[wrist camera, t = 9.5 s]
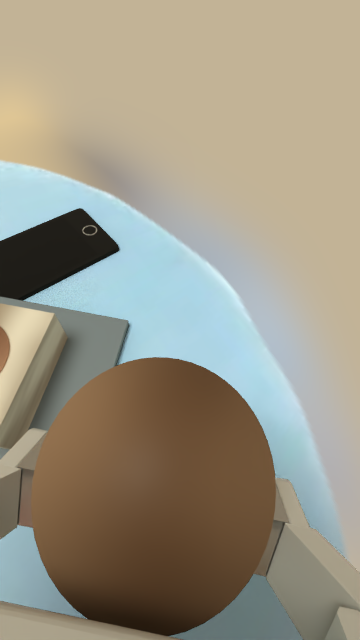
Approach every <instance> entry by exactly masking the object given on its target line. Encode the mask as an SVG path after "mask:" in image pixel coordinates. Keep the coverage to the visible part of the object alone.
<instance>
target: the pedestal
mask: <svg viewBox="0 0 360 640" xmlns="http://www.w3.org/2000/svg"><path fill="white" fill-rule="evenodd" d="M67 338H68V337H67V335H66V333H65V331H64V330H63V328H62V326H61V324H60V322H59V321H58V319H57V317H56V315H55V313H49V312H44V311H39V310H33V309H28V308H23V307H17V306H12V305H7V304H1V303H0V448H4V449H9V450H10V449H11V448H12V447H13V446H14V445H15V444H16V443H17V442H18V441H19V440H20V439H21V438H22V437H23V436H24V434H25V433H26V432H27V431H28V429H29V427H30V424H31V422H32V420H33V417H34V415H35V413H36V410H37V408H38V406H39V403H40V401H41V399H42V396H43V394H44V392H45V389H46V387H47V385H48V382H49V380H50V378H51V375H52V373H53V371H54V368H55V366H56V364H57V362H58V359H59V357H60V355H61V352H62V350H63V348H64V345H65V343H66V341H67Z"/></svg>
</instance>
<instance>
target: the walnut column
mask: <svg viewBox="0 0 360 640" xmlns="http://www.w3.org/2000/svg"><path fill="white" fill-rule="evenodd" d="M275 501H276V483H275V471H274V465H273V459H272V455H271V451H270V448H269V445H268V441H267V439H266V436H265V434H264V431H263V429H262V427H261V425H260V423H259V421H258V419H257V417H256V416H255V414H254V412H253V411H252V409H251V408H250V406H249V405H248V404H247V402H246V401H245V400H244V399H243V398H242V396H241V395H240V394H239V393H238V392H237V391H236V390H235V389H234V388H233V387H232V386H231V385H230V384H228V383H227V382H226V381H225V380H223V379H222V378H221V377H219V376H218V375H216V374H215V373H213V372H211V371H209V370H207V369H206V368H204V367H201V366H199V365H196V364H194V363H191V362H187V361H183V360H180V359H173V358H157V357H153V358H144V359H138V360H133V361H129V362H126V363H123V364H120V365H117V366H115V367H113V368H111V369H109V370H107V371H105V372H103V373H101V374H99V375H98V376H96V377H95V378H93V379H92V380H90V381H89V382H88V383H87V384H85V385H84V386H83V387H82V388H81V389H79V390H78V391H77V392H76V393H75V394H74V395H73V397H72V398H71V399H70V400H69V401H68V402H67V403H66V404H65V406H64V407H63V408H62V410H61V411H60V412H59V414H58V415H57V417H56V418H55V420H54V422H53V423H52V425H51V427H50V428H49V431H48V433H47V435H46V437H45V439H44V441H43V443H42V446H41V449H40V452H39V455H38V458H37V461H36V466H35V471H34V476H33V482H32V493H31V515H32V524H33V530H34V537H35V540H36V544H37V547H38V551H39V554H40V557H41V560H42V562H43V564H44V566H45V568H46V570H47V573H48V575H49V577H50V578H51V580H52V581H53V583H54V584H55V586H56V587H57V589H58V590H59V592H60V593H61V594H62V596H63V597H64V598H65V599H66V600H67V601H68V602H69V603H70V604H71V605H72V607H73V608H74V609H76V610H77V611H78V612H80V613H81V614H82V615H83V616H85V617H86V618H87V619H88V620H93V621H98V622H102V623H107V624H112V625H116V626H121V627H126V628H131V629H135V630H140V631H145V632H149V633H154V634H159V635H163V636H171V635H175V634H178V633H182V632H186V631H188V630H190V629H192V628H195V627H197V626H199V625H201V624H203V623H205V622H206V621H208V620H209V619H211V618H212V617H214V616H215V615H217V614H218V613H220V612H221V611H222V610H223V609H224V608H225V607H227V606H228V605H229V604H230V603H231V602H232V601H233V600H234V599H235V598H236V597H237V596H238V594H239V593H240V592H241V591H242V589H243V588H244V587H245V586H246V584H247V583H248V582H249V580H250V578H251V577H252V575H253V573H254V572H255V570H256V568H257V567H258V565H259V563H260V561H261V558H262V556H263V554H264V551H265V549H266V547H267V543H268V540H269V536H270V533H271V530H272V525H273V519H274V513H275Z"/></svg>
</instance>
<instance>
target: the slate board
mask: <svg viewBox="0 0 360 640" xmlns="http://www.w3.org/2000/svg"><path fill="white" fill-rule="evenodd" d="M0 303H1V304H7V305H12V306H17V307H23V308H28V309H33V310H39V311H44V312H49V313H55V315H56V317H57V319H58V321H59V322H60V324H61V326H62V328H63V330H64V331H65V333H66V335H67V337H68V338H67V341H66V343H65V345H64V348H63V350H62V352H61V355H60V357H59V359H58V362H57V364H56V366H55V368H54V371H53V373H52V375H51V378H50V380H49V382H48V385H47V387H46V389H45V392H44V394H43V396H42V399H41V401H40V403H39V406H38V408H37V410H36V413H35V415H34V417H33V420H32V422H31V424H30V427H29V429H28V430H30V429H32V428H36V429H41V430H45V431H49V428H50V427H51V425H52V423H53V422H54V420H55V418H56V417H57V415H58V414H59V412H60V411H61V410H62V408H63V407H64V406H65V404H66V403H67V402H68V401H69V400H70V399H71V398H72V397H73V395H74V394H75V393H76V392H77V391H78V390H79V389H81V388H82V387H83V386H84V385H85V384H87V383H88V382H89V381H90V380H92V379H93V378H95V377H96V376H98V375H99V374H101V373H103V372H105V371H107V370H109V369H111V368H113V367H115V366H116V364H117V361H118V357H119V354H120V351H121V348H122V345H123V341H124V338H125V335H126V332H127V329H128V325H129V323H128V320H123V319H117V318H112V317H107V316H101V315H96V314H91V313H85V312H80V311H75V310H69V309H64V308H59V307H53V306H48V305H42V304H37V303H32V302H26V301H21V300H16V299H10V298H5V297H0ZM8 451H9V449H4V448H0V460H1V458H2V457H3V456H4V455H5V454H6V453H7V452H8Z"/></svg>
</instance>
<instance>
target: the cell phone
mask: <svg viewBox="0 0 360 640" xmlns="http://www.w3.org/2000/svg"><path fill="white" fill-rule="evenodd" d="M118 251H119V247H118V244H117V243H116V242H115V241H114V240H113V239H112V238H111V237H110V236H109V235H108V234H107V233H106V232H105V231H104V230H103V229H102V228H101V227H100V226H99V225H98V224H97V223H96V222H95V221H94V220H93V219H92V218H91V217H90V216H89V215H88V214H87V213H86V212H85V211H84V210H83V209H81V208H79V209H76V210H73V211H71V212H68V213H66V214H64V215H61V216H59V217H56V218H54V219H52V220H49V221H47V222H45V223H42V224H40V225H37V226H35V227H33V228H30V229H28V230H25V231H23V232H21V233H18V234H16V235H14V236H11V237H9V238H6V239H4V240H2V241H0V297H5V298H10V299H16V300H21V301H23V300H25V299H26V298H28V297H30V296H32V295H34V294H36V293H38V292H40V291H42V290H44V289H46V288H48V287H50V286H52V285H54V284H56V283H58V282H60V281H61V280H63V279H65V278H67V277H69V276H71V275H73V274H75V273H77V272H79V271H81V270H83V269H85V268H87V267H89V266H91V265H93V264H94V263H96V262H98V261H100V260H102V259H104V258H106V257H108V256H110V255H112V254H114V253H116V252H118Z"/></svg>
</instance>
